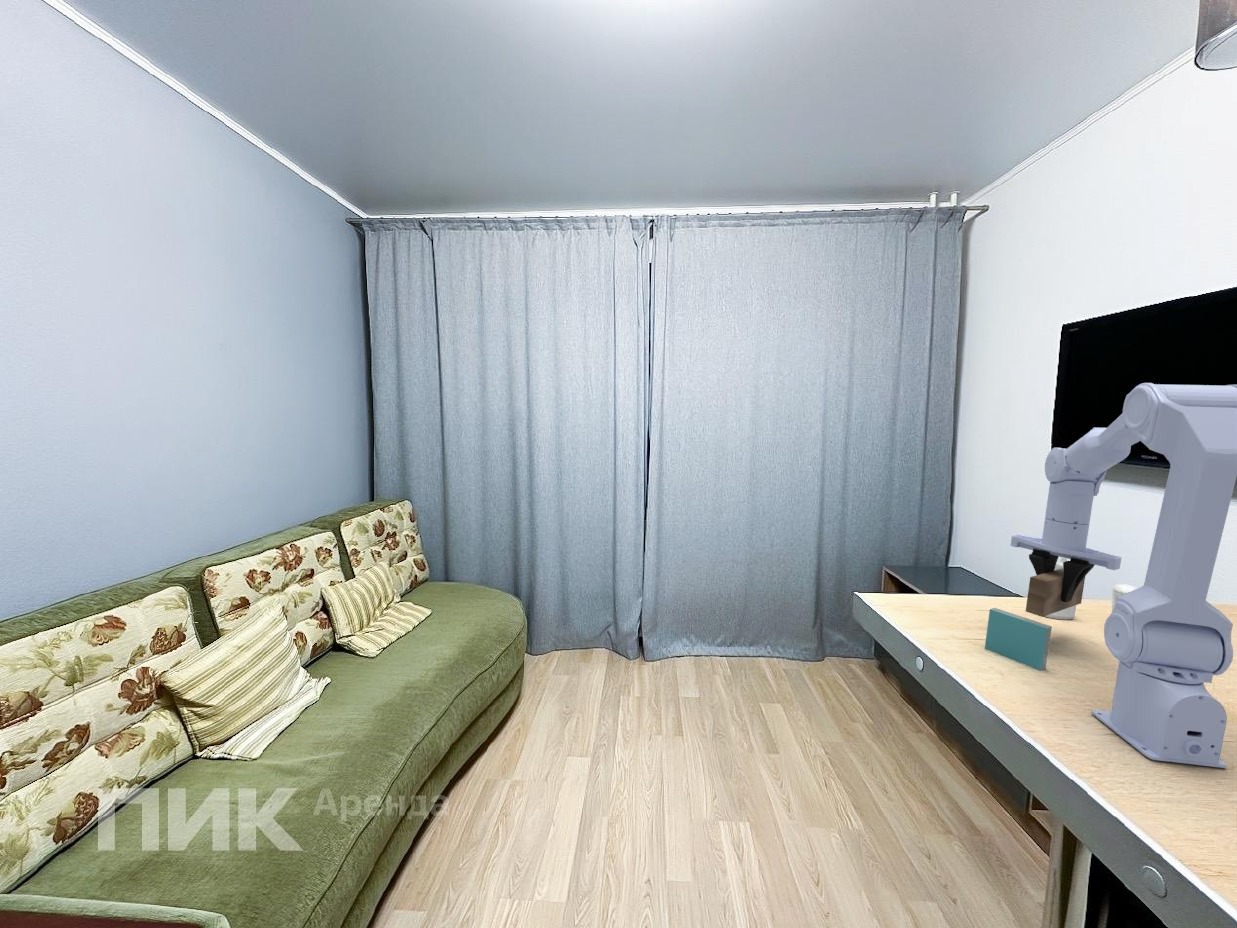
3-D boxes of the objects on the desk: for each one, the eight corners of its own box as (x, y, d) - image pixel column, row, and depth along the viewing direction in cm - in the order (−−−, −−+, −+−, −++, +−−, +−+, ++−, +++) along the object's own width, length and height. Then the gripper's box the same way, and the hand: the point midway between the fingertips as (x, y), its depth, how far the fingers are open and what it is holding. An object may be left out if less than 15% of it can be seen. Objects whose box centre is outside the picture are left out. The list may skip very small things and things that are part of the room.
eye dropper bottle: (1074, 623, 100) (1084, 563, 98) (1037, 615, 103) (1045, 556, 102) (1073, 616, 103) (1082, 558, 101) (1037, 608, 106) (1045, 552, 105)
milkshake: (1152, 640, 93) (1161, 587, 92) (1117, 637, 94) (1126, 583, 93) (1133, 629, 98) (1141, 578, 96) (1100, 626, 99) (1108, 575, 97)
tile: (1045, 668, 82) (1051, 626, 81) (1040, 671, 81) (1046, 628, 80) (989, 646, 89) (994, 607, 88) (984, 648, 88) (989, 609, 87)
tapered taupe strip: (1042, 616, 85) (1047, 581, 85) (1025, 611, 88) (1030, 577, 87) (1081, 603, 92) (1086, 570, 91) (1064, 598, 94) (1069, 566, 94)
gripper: (1133, 528, 84) (1120, 609, 85) (1028, 509, 96) (1019, 580, 98) (1115, 532, 80) (1101, 616, 82) (1008, 512, 93) (999, 586, 94)
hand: (1055, 597), depth 90 cm, fingers closed on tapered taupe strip, 2 cm apart
